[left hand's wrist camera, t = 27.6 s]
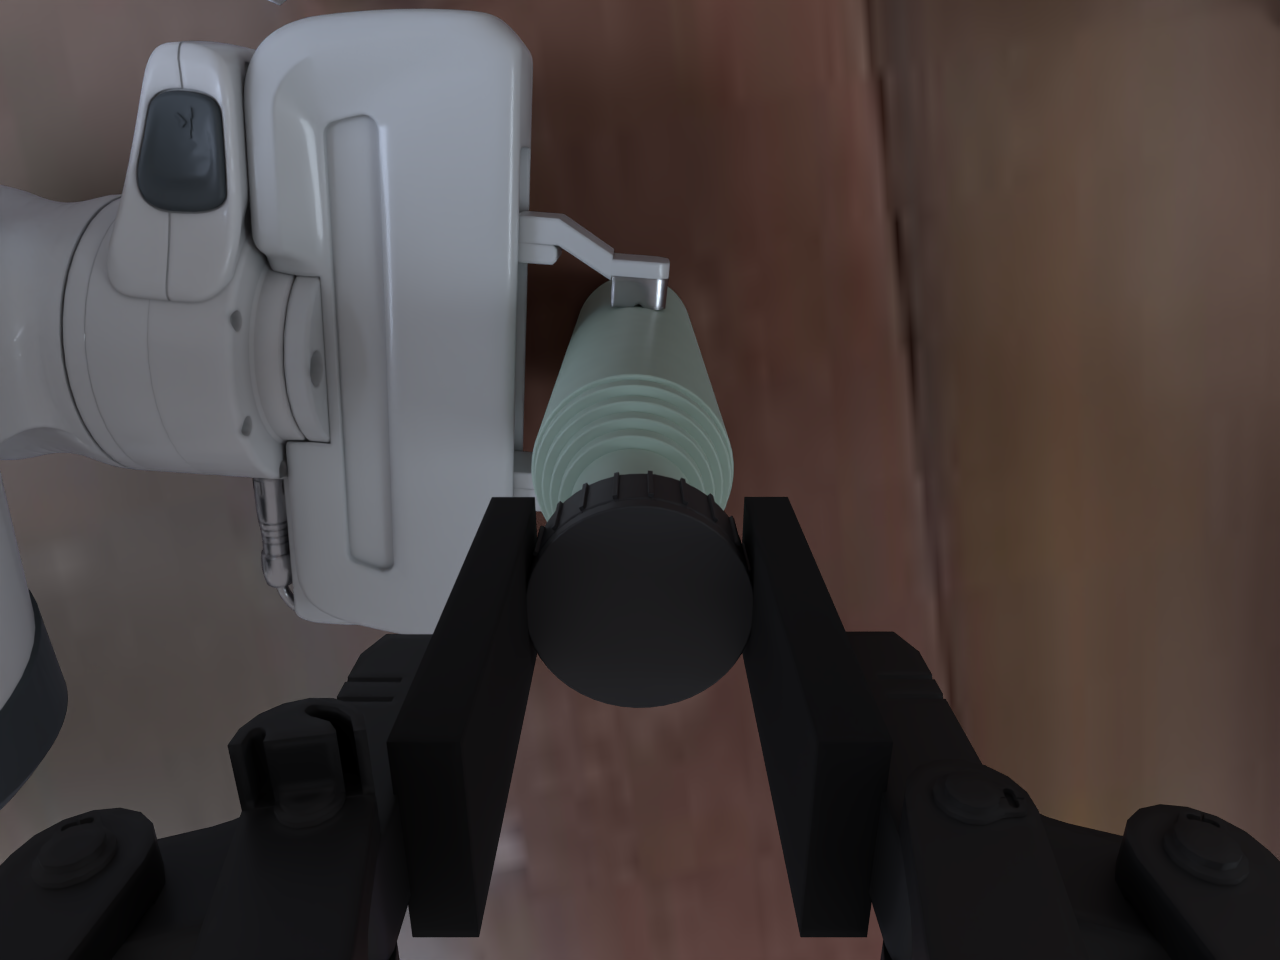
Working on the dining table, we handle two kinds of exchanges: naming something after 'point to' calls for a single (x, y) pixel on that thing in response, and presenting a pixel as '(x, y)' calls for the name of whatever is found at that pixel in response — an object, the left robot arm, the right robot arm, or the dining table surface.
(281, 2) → the electronic device
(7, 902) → the left robot arm
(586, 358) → the bottle
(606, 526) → the cap
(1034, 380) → the dining table surface
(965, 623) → the dining table surface
